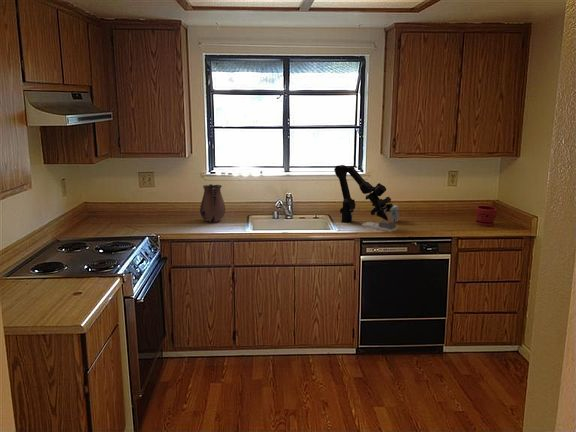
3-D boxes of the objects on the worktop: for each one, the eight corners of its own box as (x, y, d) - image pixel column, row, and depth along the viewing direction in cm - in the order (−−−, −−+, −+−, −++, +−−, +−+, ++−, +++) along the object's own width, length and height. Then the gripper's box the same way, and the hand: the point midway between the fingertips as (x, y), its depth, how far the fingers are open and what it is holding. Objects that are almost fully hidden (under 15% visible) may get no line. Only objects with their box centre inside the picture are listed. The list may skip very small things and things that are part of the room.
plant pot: (472, 225, 333) (474, 207, 330) (477, 221, 343) (478, 204, 341) (493, 228, 326) (494, 210, 323) (497, 224, 336) (499, 206, 333)
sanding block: (378, 226, 323) (379, 211, 321) (383, 225, 327) (384, 210, 325) (390, 229, 317) (391, 213, 315) (395, 227, 321) (396, 212, 319)
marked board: (361, 226, 331) (362, 224, 331) (368, 224, 337) (369, 221, 336) (390, 231, 316) (390, 229, 316) (397, 229, 322) (397, 227, 322)
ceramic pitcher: (221, 217, 359) (219, 182, 354) (230, 223, 341) (229, 187, 335) (197, 219, 352) (195, 184, 346) (205, 225, 333) (204, 189, 328)
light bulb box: (392, 223, 338) (392, 208, 336) (383, 222, 342) (383, 206, 340) (398, 220, 347) (399, 205, 344) (389, 219, 351) (390, 204, 348)
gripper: (375, 195, 313) (389, 214, 308) (391, 191, 327) (405, 210, 321) (364, 205, 321) (378, 224, 315) (380, 201, 334) (394, 220, 328)
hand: (389, 219), depth 320 cm, fingers closed on sanding block, 4 cm apart
